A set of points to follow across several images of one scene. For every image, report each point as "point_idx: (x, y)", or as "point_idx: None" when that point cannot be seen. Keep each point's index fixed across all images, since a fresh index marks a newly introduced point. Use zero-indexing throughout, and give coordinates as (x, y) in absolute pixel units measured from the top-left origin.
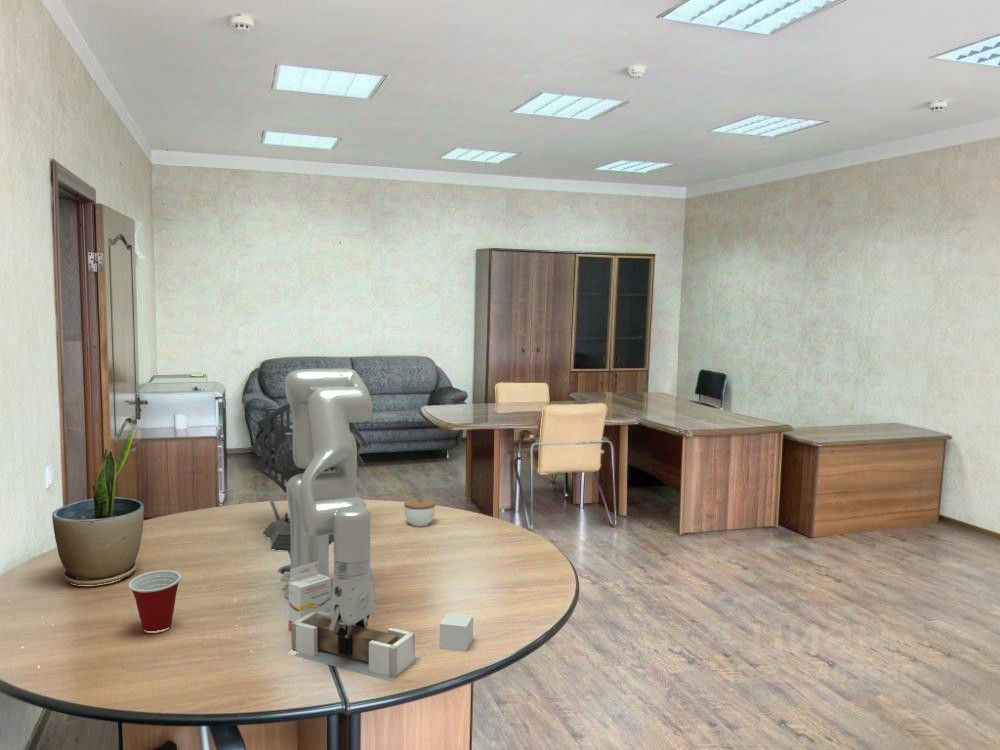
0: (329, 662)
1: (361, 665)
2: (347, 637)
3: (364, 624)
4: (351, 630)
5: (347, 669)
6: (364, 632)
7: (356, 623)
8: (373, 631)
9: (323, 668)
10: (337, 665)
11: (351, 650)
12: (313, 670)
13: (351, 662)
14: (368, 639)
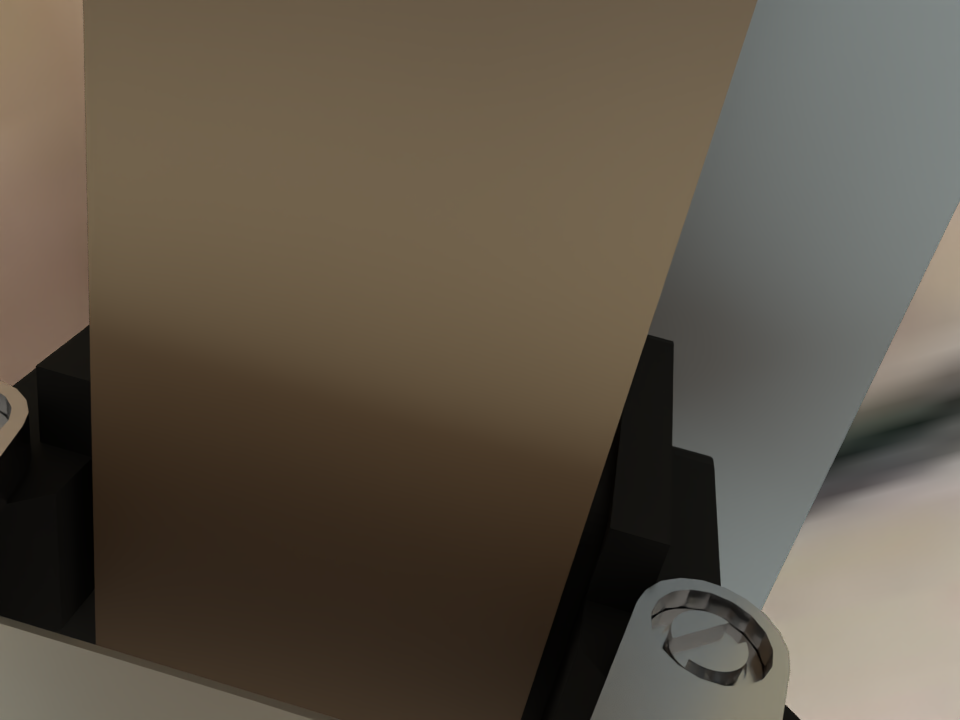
0: (728, 553)
1: (755, 74)
2: (714, 623)
3: (4, 451)
4: (353, 630)
5: (933, 254)
6: (349, 314)
7: (37, 623)
8: (184, 74)
9: (851, 571)
10: (809, 435)
11: (646, 371)
12: (919, 658)
13: (677, 275)
14: (741, 23)
